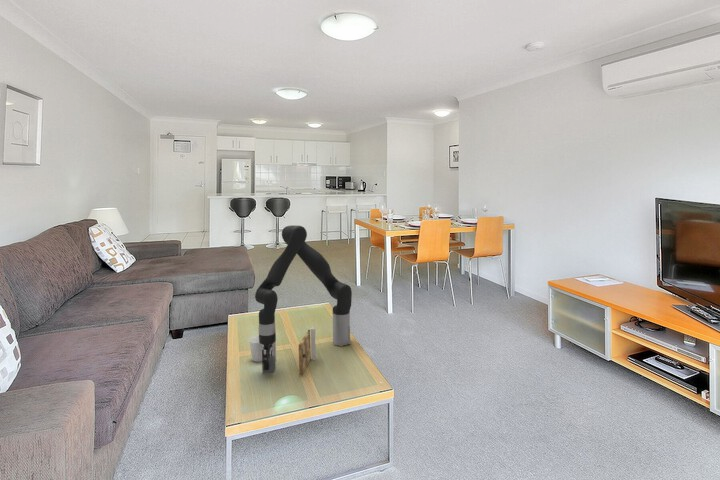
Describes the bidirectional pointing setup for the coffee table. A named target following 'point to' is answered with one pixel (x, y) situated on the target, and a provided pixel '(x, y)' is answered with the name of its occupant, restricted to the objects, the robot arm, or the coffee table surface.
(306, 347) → the door
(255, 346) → the white cup
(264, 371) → the grey cube-like block
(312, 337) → the door frame
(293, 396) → the coffee table surface
